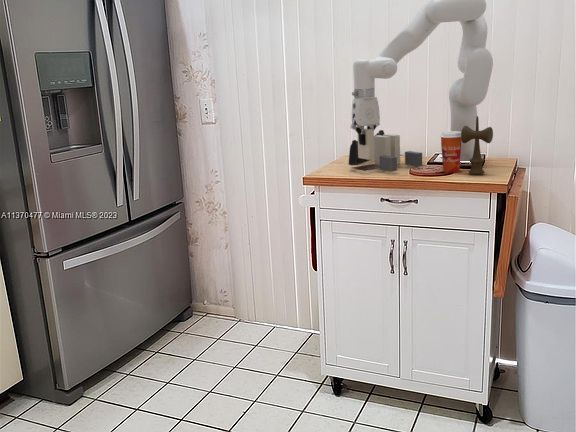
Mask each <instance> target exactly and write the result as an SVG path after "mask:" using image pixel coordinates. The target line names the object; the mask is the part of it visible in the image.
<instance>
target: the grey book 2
mask: <svg viewBox="0 0 576 432" xmlns="http://www.w3.org/2000/svg"><path fill="white" fill-rule="evenodd" d="M404 165H406V166H412V167H417V168H419V167H422V166H423V152H419V151H413V150H408V151H404Z"/></svg>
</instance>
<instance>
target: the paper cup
mask: <svg viewBox="0 0 576 432" xmlns="http://www.w3.org/2000/svg"><path fill="white" fill-rule="evenodd" d="M439 137H440V144H441V145H440V146H441V147H440V148H441V159H442V162H441V163H442V171H443V173H447V174H455V173H459V172H460V168H461V166H460V164H461V163H460V155H461V132H459V131H451V130H448V131H447V130H446V131H441V133H440V136H439Z"/></svg>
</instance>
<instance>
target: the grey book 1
mask: <svg viewBox="0 0 576 432" xmlns="http://www.w3.org/2000/svg"><path fill="white" fill-rule="evenodd" d="M379 170H382V171H389V172H396V171H398V165H397V157H392V156H386V155H383V156H380V168H379Z"/></svg>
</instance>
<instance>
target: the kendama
mask: <svg viewBox="0 0 576 432" xmlns="http://www.w3.org/2000/svg"><path fill="white" fill-rule="evenodd" d="M479 124H480V122H479V115H477V117H476V131H474V130H472V129H471V128H469V127H468V126H464V127H463V129H462V131H461V140H462V142H463V143H467V142H468V141H470V140H472V139H475V145H474V152H473V157H472V159H471V160H470V162H471V165H470V169H469V171H468V174H469V175H473V176H479V175H480V176H481V175H484V174H485V170H484V169H483V164H484V162H485V160H484V158H483V159H482V157H481V156H482V153H481V146H480V145H481V144H480V140H481V141H483V142H484V143H486V144H491V143H492V141H493V138H494V131H493V130H494V129H493V127H492V126H488V127H486V128H484V129H481V130H480V125H479Z"/></svg>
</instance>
